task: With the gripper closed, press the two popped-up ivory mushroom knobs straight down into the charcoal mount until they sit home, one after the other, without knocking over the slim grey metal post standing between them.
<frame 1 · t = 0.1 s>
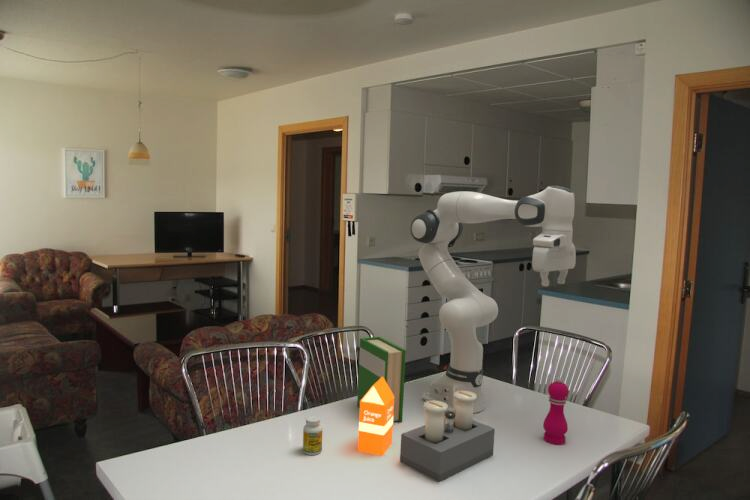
hand: (553, 284, 173), 48 cm above the table, fingers open, 8 cm apart
hardback book: (378, 414, 189), on the table
mount: (447, 458, 159), on the table
far knob: (464, 410, 162), point 12 cm above the table, slide at 0.0 cm
supplement bottle: (312, 452, 160), on the table
pepper mill: (554, 440, 175), on the table
orange juice: (375, 447, 164), on the table
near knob: (434, 422, 153), point 12 cm above the table, slide at 0.0 cm
potentiometer post: (449, 431, 158), point 8 cm above the table, touching mount
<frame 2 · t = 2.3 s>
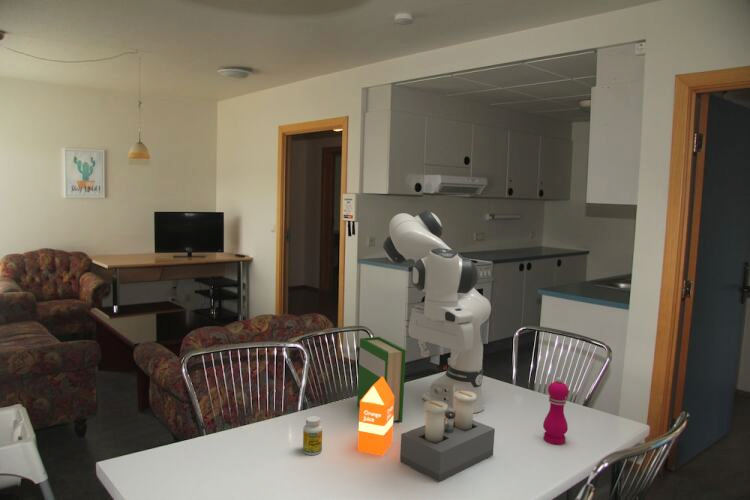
hand: (438, 360, 152), 29 cm above the table, fingers open, 8 cm apart
nothing on the table moved.
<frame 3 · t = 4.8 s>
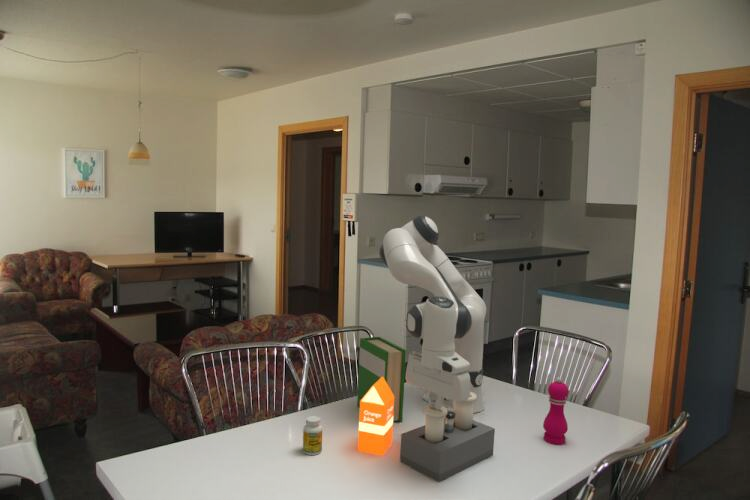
hand: (435, 407, 153), 16 cm above the table, fingers closed, pressing on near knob
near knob: (434, 426, 154), point 11 cm above the table, slide at 1.3 cm, touching gripper
everything else where it was.
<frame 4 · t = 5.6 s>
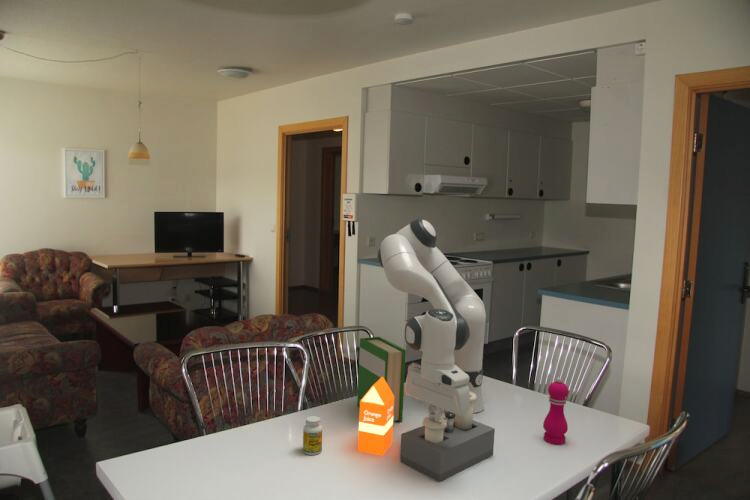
hand: (434, 420, 153), 13 cm above the table, fingers closed, pressing on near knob
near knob: (433, 438, 154), point 8 cm above the table, slide at 4.7 cm, touching gripper
everything else where it was.
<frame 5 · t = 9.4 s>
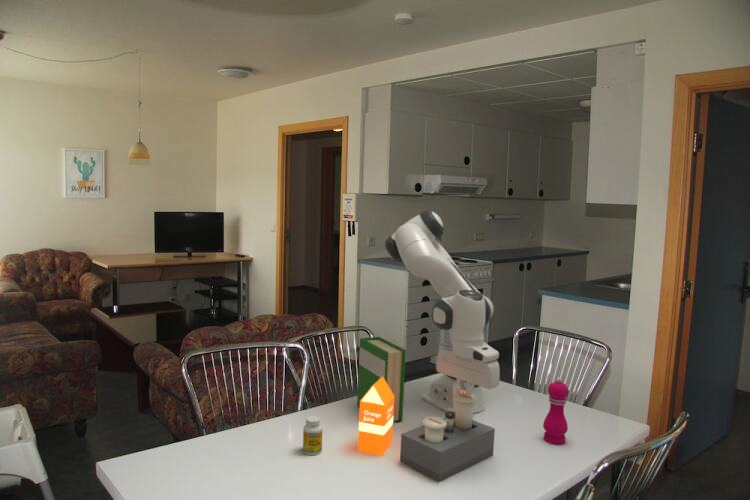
hand: (465, 395, 162), 17 cm above the table, fingers closed, pressing on far knob
far knob: (464, 412, 162), point 12 cm above the table, slide at 0.6 cm, touching gripper
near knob: (433, 438, 154), point 8 cm above the table, slide at 4.7 cm
everything else where it was.
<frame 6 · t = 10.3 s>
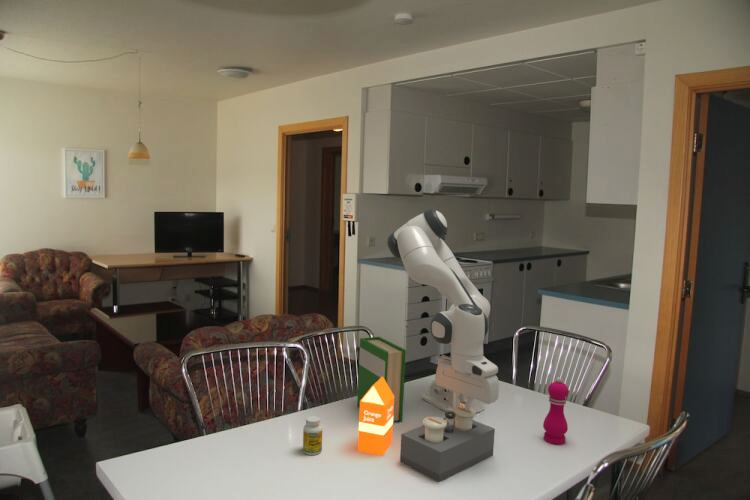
hand: (464, 409, 162), 13 cm above the table, fingers closed, pressing on far knob
far knob: (463, 426, 163), point 8 cm above the table, slide at 4.6 cm, touching gripper
everything else where it was.
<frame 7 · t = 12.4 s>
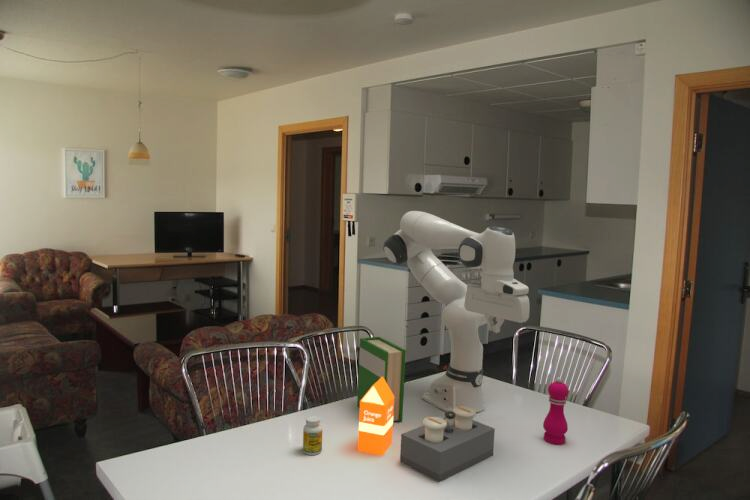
hand: (493, 331, 162), 35 cm above the table, fingers closed
far knob: (463, 426, 163), point 8 cm above the table, slide at 4.7 cm
everything else where it was.
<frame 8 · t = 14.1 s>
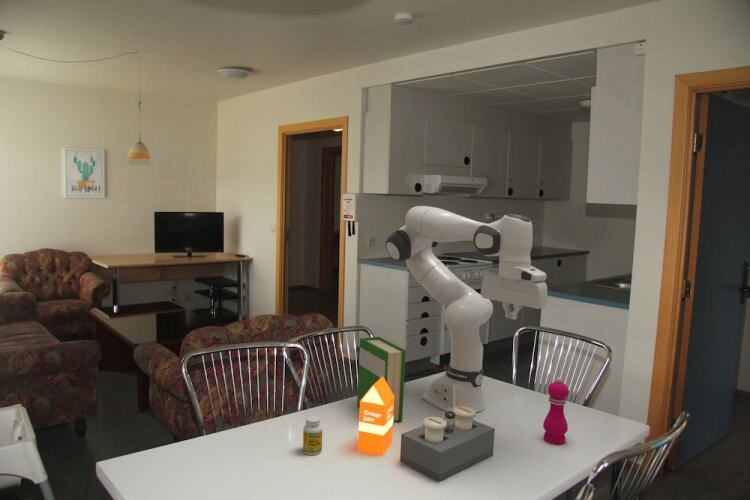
hand: (511, 318, 163), 39 cm above the table, fingers closed
nothing on the table moved.
at the end: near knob slide at 4.7 cm; far knob slide at 4.7 cm; potentiometer post tilted 0° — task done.
